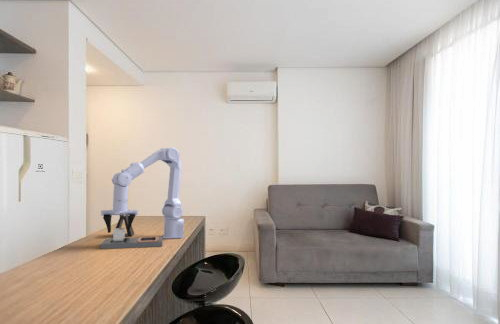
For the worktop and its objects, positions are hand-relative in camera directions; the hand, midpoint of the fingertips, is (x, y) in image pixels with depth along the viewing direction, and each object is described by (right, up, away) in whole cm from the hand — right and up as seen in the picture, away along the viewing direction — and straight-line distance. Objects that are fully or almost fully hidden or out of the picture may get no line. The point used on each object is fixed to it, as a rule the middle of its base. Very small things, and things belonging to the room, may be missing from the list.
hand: (119, 232), depth 123 cm
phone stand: (-6, -7, +19) cm, 21 cm away
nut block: (0, -6, 0) cm, 6 cm away
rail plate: (+6, -6, +1) cm, 8 cm away
